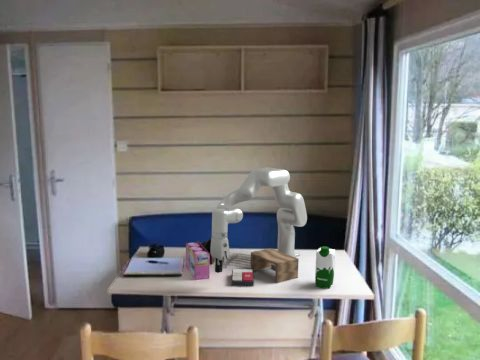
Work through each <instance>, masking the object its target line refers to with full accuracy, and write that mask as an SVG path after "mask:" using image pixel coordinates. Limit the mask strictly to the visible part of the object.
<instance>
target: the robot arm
mask: <svg viewBox="0 0 480 360" xmlns="http://www.w3.org/2000/svg"><path fill="white" fill-rule="evenodd" d="M290 175H291V174H290V173H289V171H288V170H286V169H283V168H281V169H280V168H273V167H267V166H265V167H262V168H254V169H252V170H251V171H250V173H249V174H248V175H247V177H246V178H245V180H244V181H243V183H241V185H240V187H239V188H237V189H234V190H233V191H231V192H230V193H228V194H227V195H225V196H224V197H223V198H222V199H221V201H220V202H219V204H218V205H217V207H216V208H215V209H213V210H212V212H211V213H212V214H211V216H212V217H211V238H212V239H211V248H210V253H211V255H212V257H213V258H214V272H215V273H217V274H218V273H222V272H223V264H225V263H227V260H229V259H230V246H229V244H230V243H229V239H228V229H229V227H228V226H229V224H237V223H240V222H241V221H242V220H243V217H244V212H243V211H242V210H241V209H240V208H239V207H234V206H235V205H237V204H240V203H243V202H246V201H250V200H252V199H254V197H255V196H256V194H257V193H258V192H259V190H260V188H261V187H267V188H272V191H273V196H274V199H275V202H276V205H277V206H278V207H279V208H278V210H277V211H276V221H277V232H278V233H277V251H280V252H282V253H285V254H287V255H290V256H293V257H295V258H298V257H301V254H300V252H295V239H296V238H295V237H296V232H295V231H296V230H295V227H300V228H301V227H304V226H305V225H307V220H308V215H307V214H308V213H307V209H306V204H305V200H304V199H305V198H304V197H303V195H302V194H301V193H299V192H294V191H290V188H289V185H288V184H289V182H290V180H291V176H290Z"/></svg>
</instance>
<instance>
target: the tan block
mask: <svg viewBox="0 0 480 360" xmlns="http://www.w3.org/2000/svg"><path fill="white" fill-rule="evenodd" d="M268 268H271V269H272V270H275V272H274V273H275V276H274V277H275V279H274V280H275V281H274V282H275V284H279V283H283V282H287V281H291V280H296V279H297V278H299V258H298V257H293V256H290V255H287V254H285V253H282V252H280V251H278V249H274V248H272V247H269V248H265V249H261V250H260V249H259V250H254V251H251V252H250V269H252V270H253V272H256V271H259V270H264V269H268Z"/></svg>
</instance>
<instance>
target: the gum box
mask: <svg viewBox="0 0 480 360" xmlns="http://www.w3.org/2000/svg"><path fill="white" fill-rule="evenodd" d="M201 243H202V242H200V241H195V242H189V243H188V242H187V241H186V242H185V267H186V269H187V270H188V271H189V273H190V275H191V276H192V278H193V279H194V281H202V280H209V279H210V254H209V252H208V251H207V250H206V249H205V248H204V247H203V246H202V245H201Z"/></svg>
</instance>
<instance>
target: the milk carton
mask: <svg viewBox="0 0 480 360" xmlns="http://www.w3.org/2000/svg"><path fill="white" fill-rule="evenodd" d="M335 263H336V249H335V248H334V249H333V248H330V247H329V246H325V245H324V246H320V247H319V248H318V249H317V250H316V254H315V272H314V273H315V274H314V275H315V277H314V279H315V280H314V281H315V282H314V283H315V287H316V288H317V287H318V288H325V289H329V290H330V288H331V287H332V286H331V285H334V278H335V277H334V276H335Z"/></svg>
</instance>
